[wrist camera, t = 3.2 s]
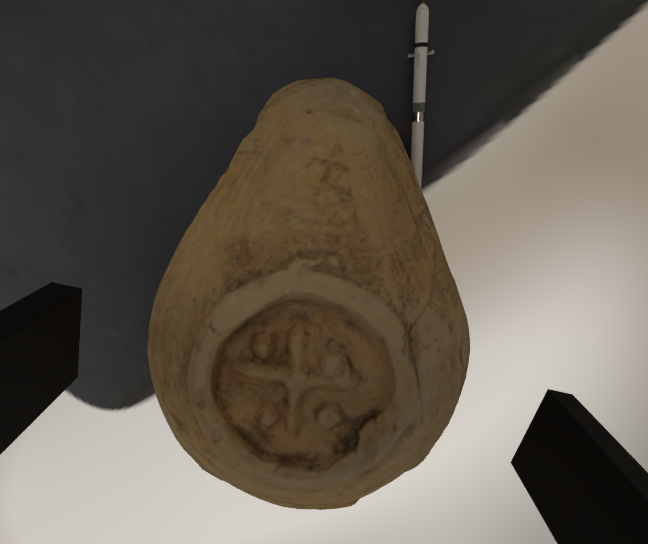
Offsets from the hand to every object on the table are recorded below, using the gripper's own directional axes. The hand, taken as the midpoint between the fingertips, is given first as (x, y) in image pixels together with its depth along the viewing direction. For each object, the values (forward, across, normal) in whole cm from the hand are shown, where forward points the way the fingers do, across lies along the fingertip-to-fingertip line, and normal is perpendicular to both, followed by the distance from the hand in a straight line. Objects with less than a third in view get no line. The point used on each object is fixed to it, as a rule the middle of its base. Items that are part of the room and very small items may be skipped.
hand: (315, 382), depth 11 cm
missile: (+6, +2, +7) cm, 9 cm away
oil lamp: (0, 0, +1) cm, 1 cm away
